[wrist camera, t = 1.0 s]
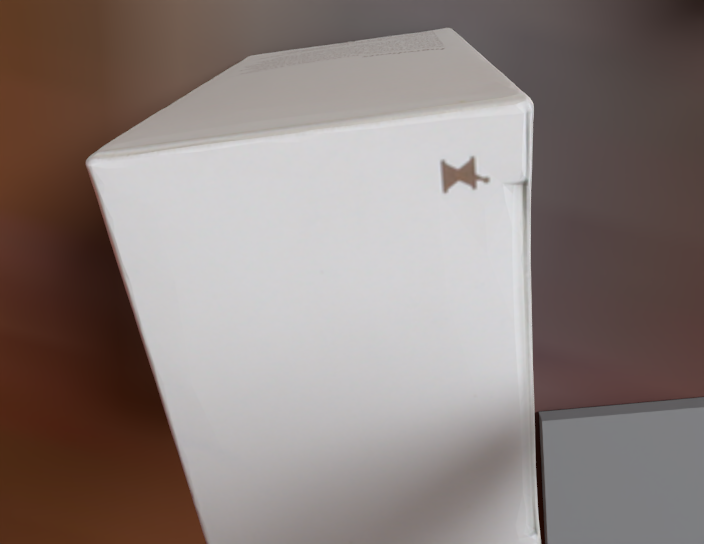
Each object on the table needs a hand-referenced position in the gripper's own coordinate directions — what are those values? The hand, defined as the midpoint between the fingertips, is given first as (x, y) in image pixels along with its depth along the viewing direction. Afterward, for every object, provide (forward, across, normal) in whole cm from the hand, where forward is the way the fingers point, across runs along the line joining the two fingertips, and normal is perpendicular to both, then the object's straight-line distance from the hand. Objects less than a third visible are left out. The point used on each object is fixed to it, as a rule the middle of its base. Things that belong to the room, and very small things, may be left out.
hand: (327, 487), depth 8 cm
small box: (+12, 0, 0) cm, 12 cm away
